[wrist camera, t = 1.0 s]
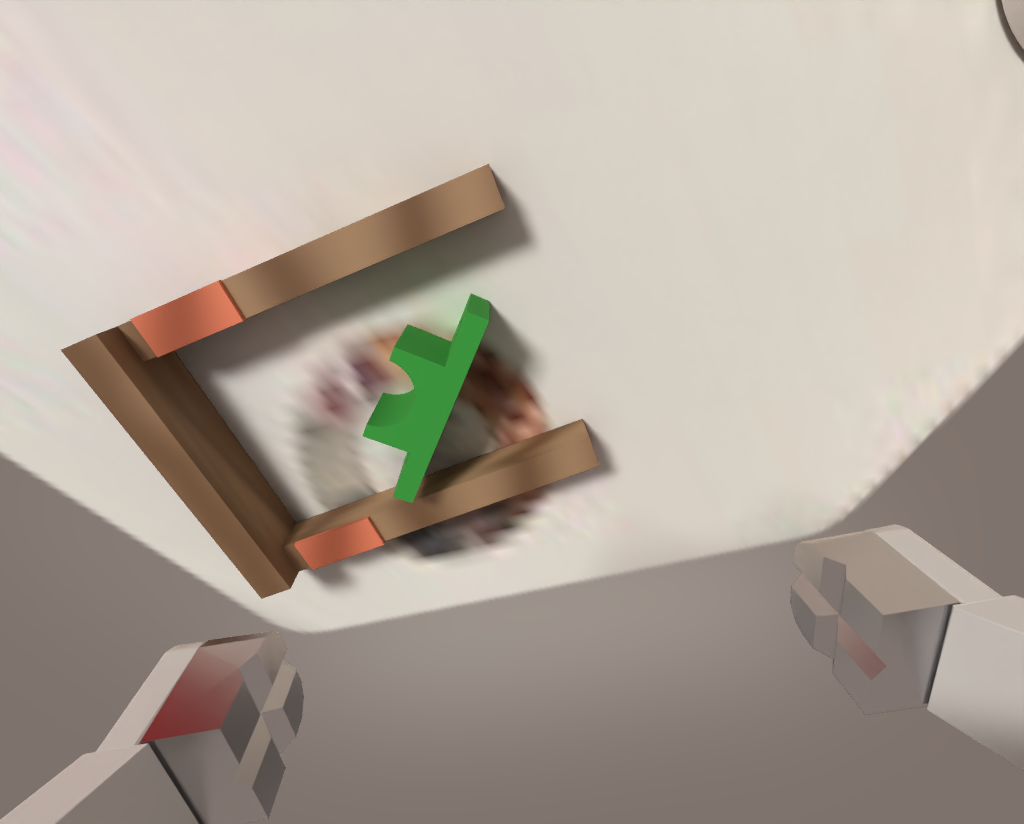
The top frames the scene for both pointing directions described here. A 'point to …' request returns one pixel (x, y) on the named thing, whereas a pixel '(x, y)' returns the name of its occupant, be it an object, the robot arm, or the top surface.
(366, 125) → the top surface
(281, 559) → the guide channel
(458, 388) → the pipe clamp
